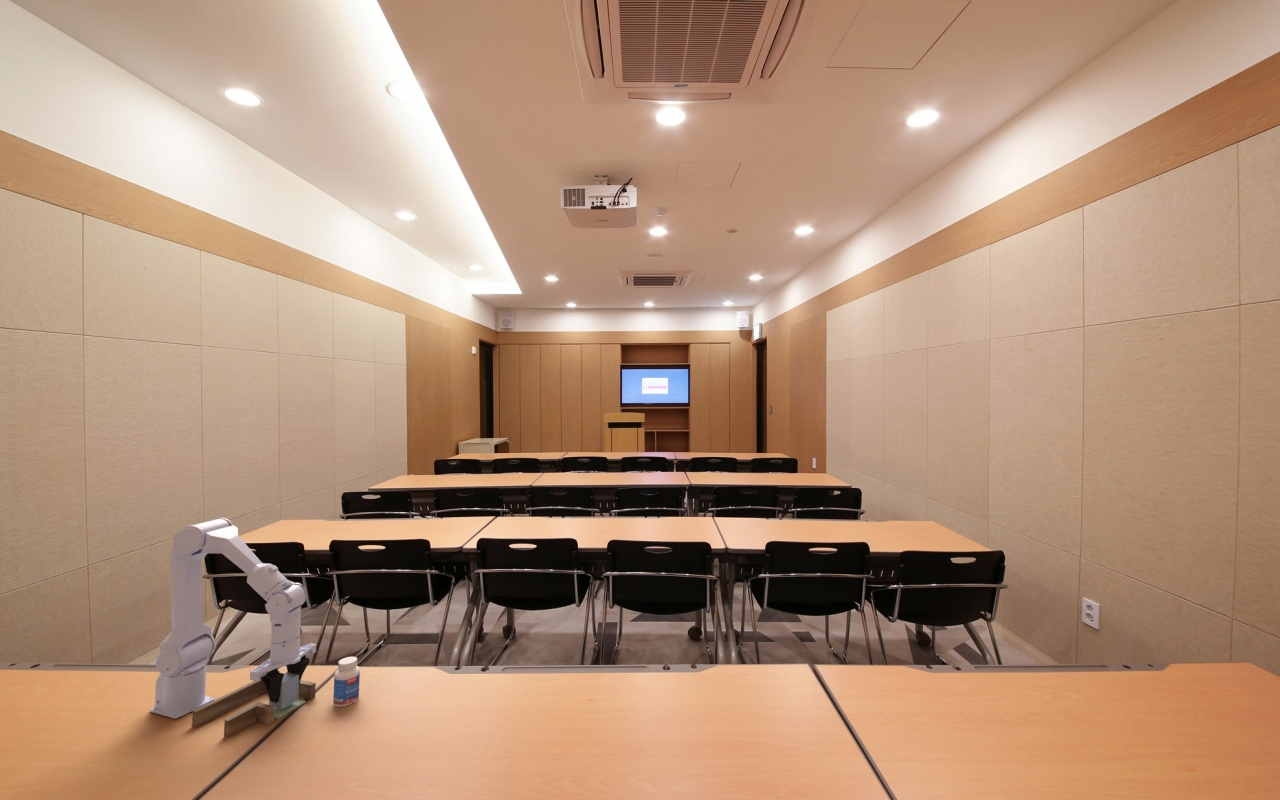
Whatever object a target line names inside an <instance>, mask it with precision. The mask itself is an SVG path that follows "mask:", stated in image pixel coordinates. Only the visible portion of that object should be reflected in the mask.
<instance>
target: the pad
mask: <svg viewBox="0 0 1280 800" xmlns="http://www.w3.org/2000/svg"><path fill="white" fill-rule="evenodd" d="M306 703H307V701H306V700H305V699H304V700H303V699H301V698H298V701H296V702H294V703H292V704H290V705H289V706H287V707H285V708H283V709H282V710H281V709H277V708H274V719H275V720H278V719H280V718H282V717H283V716H285V715H286V714H288V713H290V712H292V711H293V710H296V709H297V708H299V707H300V706H302V705H303V704H306Z"/></svg>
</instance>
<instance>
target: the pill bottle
mask: <svg viewBox="0 0 1280 800" xmlns="http://www.w3.org/2000/svg"><path fill="white" fill-rule="evenodd" d="M337 665H338V667H337V670H336V671H335V673H334V677H333V678H334V679H333V697H332V698H333V700H332V701H333V705H334V707H337V708H342V706H343V707H348V706H350V705H352V703H353V704H354V703H355V701H356V700H357V699H358V700H359V696H360V677H361V675H360V674H361V669H360V667H359V666H358V657H356V656H347V657H344V658H342V659H340V660H339V661H338V664H337ZM358 700H357V701H358ZM357 701H356V702H357ZM347 705H348V706H347Z"/></svg>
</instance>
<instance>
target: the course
mask: <svg viewBox="0 0 1280 800" xmlns="http://www.w3.org/2000/svg"><path fill="white" fill-rule="evenodd" d="M316 685H317V684H316V682H312V681H308V680H305V679H301V680H300V683H299V689H298V698H299V699H304V700H309V701H312V700H314V699H315V698H316ZM266 692H267V689H266V687H265V685H264V683H263V682H262V680H261V679H259V680H257V681H253V680H252V681H251V682H249V683H248V684H245V685H243V686H241V687H239V688H237V689H234V690H233V691H231V692H228V693H227V694H225V695H223V696H220V697H219V698H216V699H214V701H212V702H210V703H208V704H206V705H204V706H202V707H200V708H198V709H196V710H194V711H192V722H191V727H192V728H195V729H197V728H199V727H200V726H202V725H204V724H206V723H208V722H210V721H212V720H214V719H216V718H218V717H220V716H222V715H224V714H226V713H228V712H230V711H231V710H233V709H235V708H237V707H240V706H241V705H243V704H245V703H247V702H248V701H251V700H252V699H254V698H256V697H259V696H261V695H262V694H264V693H266ZM274 719H275V718H274V706H271V705H269V704H268V703H263V702H259V701H258V702H255V703H253V704H251V705H250V706H248V707H247V708H244V709H243V710H240V711H238V712H237V713H235V714H233V715H231V716H229V717H227V718H225V719H224V721H223V724H224V725H223V726H224V727H223V729H224V730H223V737H225V738H230V737H231V736H233V735H235V734H237V733H238V732H240V731H242V730H243V729H246V728H247V727H249V726H251V725H253V724H255V723H258V724H263V725H267V726H269V725H270V724H272V723H274Z"/></svg>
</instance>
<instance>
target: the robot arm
mask: <svg viewBox="0 0 1280 800" xmlns="http://www.w3.org/2000/svg"><path fill="white" fill-rule="evenodd" d="M172 544H173V545H172V547H173V548H172V550H171V551H170V552H171V553H170V555H169V563H170V564H169V567H170V568H169V570H170V572H169V573H170V608H171V609H170V611H171V612H170V613H171V614H170V615H171V617H170V619H171V622H170V623H171V631H170V632H169V633H168V634H167V636H166V637H165V638H164V639H163V640H162V642H161V643H160V644H159V653H158V655H157V658H156V660H155V667H156V669H157V671H158V673H160V674H159V675H158V677H157V678H156V681H155V690H154V691H155V692H154V693H155V695H154V707H151V708H150V709H149V712H151V713H154V714H157V715H159V716H164V717H167V718H171V719H174V720H175V719H179V718H181V717H183V716H185V715H187V714H189V713H191V712H192V713H193V711H194V710H196V709H198V708H200V707H202V706H204V705H206V704H208V703H210V702H212V701H214V700H215V698H214V697H212V696H208V695H206V684H207V683H206V682H207V681H206V680H207V663H208V662H209V661H210V656H212V655H213V654H214V652H215V650H216V647H217V644H216V639H215V638H214V636H213V631H212V627H211V626H209V625H207V624H204V622H203V621H204V620H203V583H202V576H203V575H202V559H203V558H204V557H206V555H208V554H222V555H223V556H224V557H225V558H227V559H228V560H229V561H230V562H231V563H233V564H234V565H235V566H237V567H238V568H239V569H241V570H242V571H243V572H244V573H245V574H247V578H246V584H248V585H249V586H250V587H251V588H252V589H253V591H255V592H256V593H257V594H258V595H259V596H260V597H262V599H263V600H265V601H266V603H264V604H265V605H264V607H265V611H266V612H267V613H268V615H269V622H270V624H271V627H270V628H271V629H270V648H269V649H270V652H269V653H270V654H269V655H270V657H269V659H267V660H265V662H264V661H263V663H262V664H260V665H259V666H258V667H256V668H254V669H252V670H250V671H249V680H251V681H252V682H253V681H257V680H259V679H261V680H262V682H263V683H264V685H265V687H266V689H267V691H266V692H267V694H268V698H269V699H270V701H271V702H275V703H277V702H278V701H279V697H280V689H281V683H282V680H283V677H284V673H283V672H280V670H279V669H281V668H283V667H286V672H289V673H293V674H298V675H299V683H300V680H302V677H303V675H304V673H305V671H306V669H307V667H308V666H309V664H310V658H308V657H307V656H308V655H310V654H311V655H313V654H314V653H317V644H316V643H312V642H310V643H308V644H305V645H302V646H300V645H301V626H302V625H301V621H302V617H301V615H302V605H304V604H305V602H306V601H307V598H308V593H307V589H306V588H305V587H304V585H303V584H302V583H300V582H294V581H292V580H289V579H287V577H286V576H285V575H284V574H282V572H280V571H279V567H277V566H276V565H275V564H272V563H264V562H263V561H261V560H260V559H259V557H258V556H256V554H255V553H254V552H253V551H252V550H251V548H250V547H249V546H248V545H247V544H246V543H245V541H244V540H243V539H242V538H241V537H240V536H239V528H238V527H237V526H236V525H234V523H233V522H232V521H231V520H230V519H228V518H226V517H219V518H218V517H217V518H215V519H212V520H208V521H204V522H199V523H196V524H189V525H185V526H183V527H182V528H180V529H179V530H178V531H177V532H175V533H174V534H173V535H172ZM269 699H268V700H269Z"/></svg>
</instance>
